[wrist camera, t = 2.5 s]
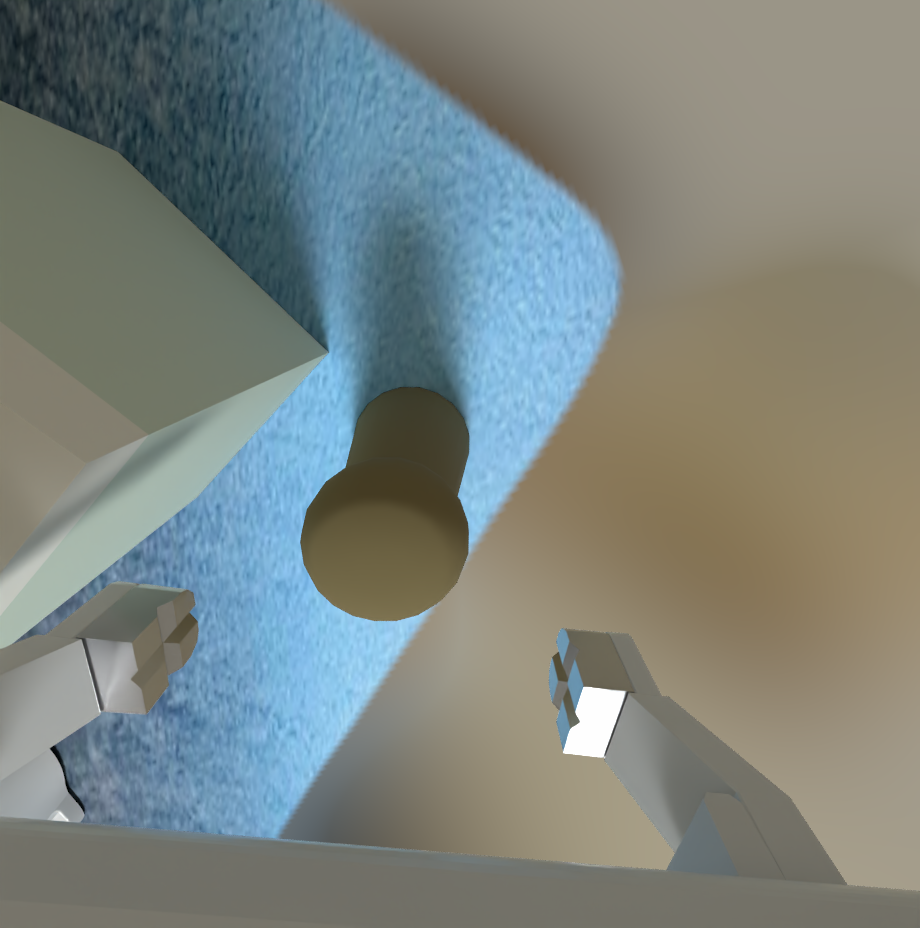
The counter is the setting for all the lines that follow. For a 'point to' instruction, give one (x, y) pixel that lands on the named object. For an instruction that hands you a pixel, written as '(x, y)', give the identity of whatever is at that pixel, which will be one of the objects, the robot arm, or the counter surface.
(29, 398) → the open top box
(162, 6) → the counter surface
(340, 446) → the counter surface
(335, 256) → the counter surface
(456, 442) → the cork
